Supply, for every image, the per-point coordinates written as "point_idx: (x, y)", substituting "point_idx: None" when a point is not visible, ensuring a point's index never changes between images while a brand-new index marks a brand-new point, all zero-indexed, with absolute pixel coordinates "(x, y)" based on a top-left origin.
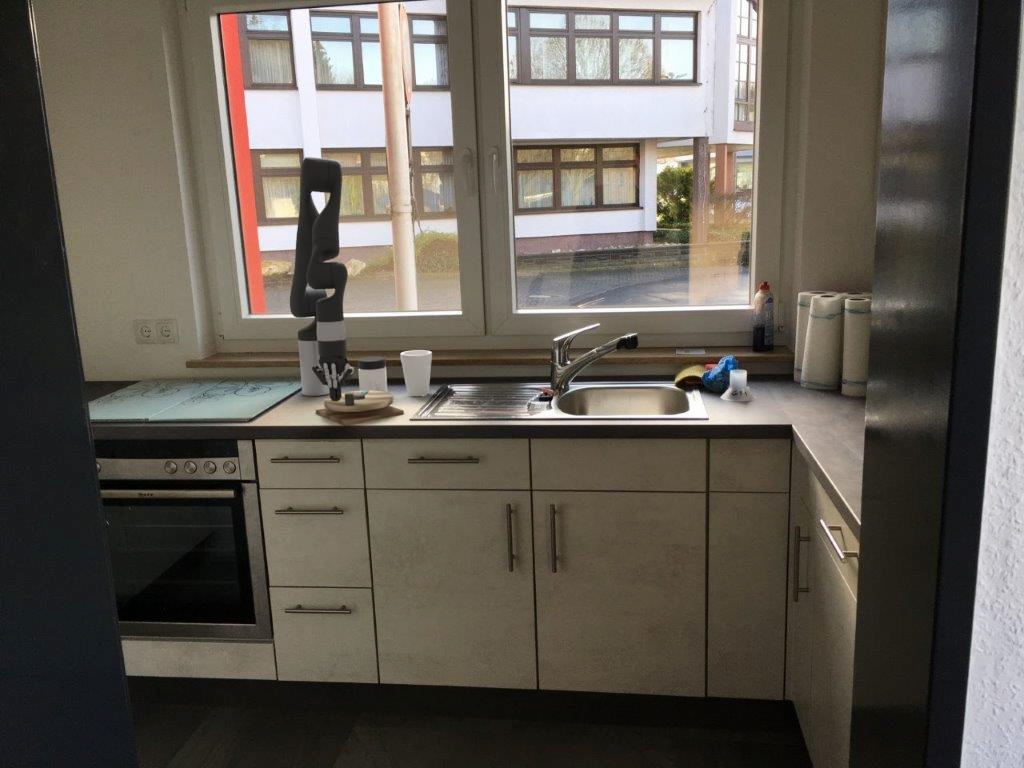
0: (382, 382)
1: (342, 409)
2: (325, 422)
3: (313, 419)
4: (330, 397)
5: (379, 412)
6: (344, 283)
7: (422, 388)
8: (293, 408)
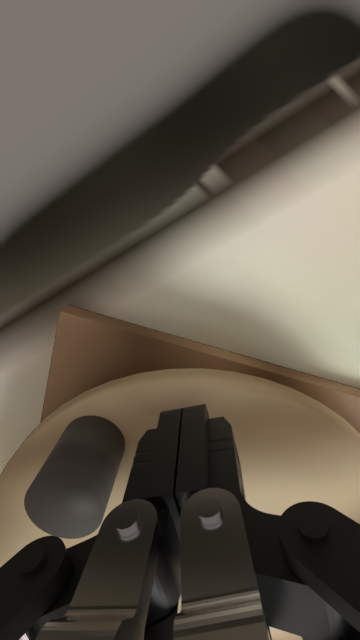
0: None
1: (118, 384)
2: (224, 298)
3: (343, 310)
4: (223, 423)
5: None
6: None
7: None
8: None
